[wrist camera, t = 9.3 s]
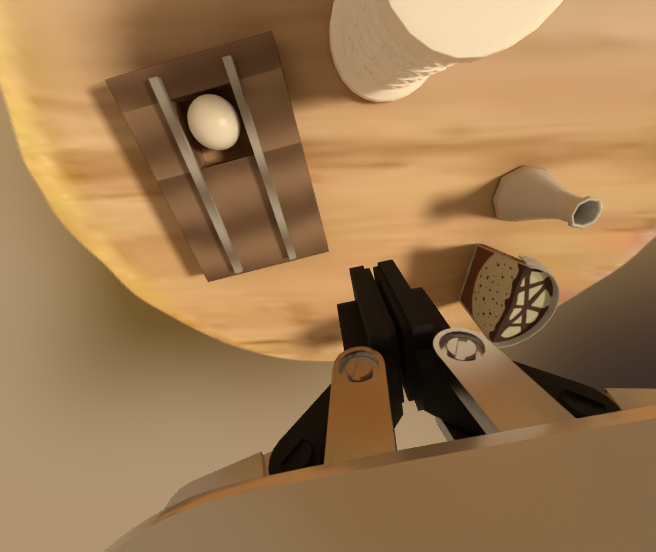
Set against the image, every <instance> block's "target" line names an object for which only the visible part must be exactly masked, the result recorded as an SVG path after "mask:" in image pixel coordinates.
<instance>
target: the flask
mask: <svg viewBox="0 0 656 552" xmlns="http://www.w3.org/2000/svg"><path fill="white" fill-rule="evenodd" d="M493 204H494V208H495V212H496V217H497V219H504V220H510V221H526V220H538V219H559V220H563V221H566V222H568V225H569V226H571V227H577V228H585V227H587V226H589V225H591V224H593V223H595V222H596V221H597V219H598V217H599V216H600V214H601V212H602V210H603V208H602V199H600V198H595V197H585V198H582V197H579V196H577V195H575V194H573V193H571V192H569V191H568V190H567V189H566V188H565V187H563V186H562V185H561V184H560V183H559V182H558V181H556V180H555V179H554V178H553V177H552V176H551V175H550V174H549V173H548V172H547V171H546V170H545V169H541V168H536V167H530V166H525V165H524V166H522V167H520V168H518V169H516V170H514V171H512V172H510V173H509V174H507V175H505V176H503V177H502V178H501V180H500V183H499V185H498V188H497V190H496V192H495V195H494V197H493Z"/></svg>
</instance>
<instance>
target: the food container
mask: <svg viewBox="0 0 656 552" xmlns="http://www.w3.org/2000/svg"><path fill="white" fill-rule="evenodd" d="M519 257H520V258H521V259H522V260H520V259H518V258H515V257H513V256H511V255H508V254H506V253H503V252H501V251H499V250H496V249H494V248H491V247H489V246H487V245H483V244H476V247H475V250H474V253H473V256H472V259H471V262H470V265H469V268H468V272H467V275H466V278H465V281H464V284H463V287H462V290H461V293H460V296H459V299H458V300H459V302H460V303H461V304H462V306H463V307H464V308H465V310H466V311H467V312H468V314H469V315H470V316H471V318H472V319H473V320H474V322H475V323H476V324H477V326H478V327H479V328H480V330H481V331H482V332H483V334H484V335H485V336H486V338H487V339H488V340H489V341H490V342H491V343H492V344H493V345H494V346H496V347H497V348H502V347H508V346H511V345H515V344H517V343H520V342H522V341H524V340H526V339H528V338H530V337H531V336H533V335H534V334H535V333H537V332H538V331H539V330H540V329H542V327H544V325H545V324H547V322H548V321H549V319H551V317H552V315H553V314H554V312H555V310H556V308H557V305H558V302H559V294H560V292H559V286H558V284H557V281H556V280H555V278H554V276H553V275H552V273H551V272H550V271H549V270H548V269H547V268H546V267H545V266H543V265H542V264H541V263H540V262H539V261H537V260H535V259H533V258H530V257H527V256H519Z"/></svg>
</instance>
